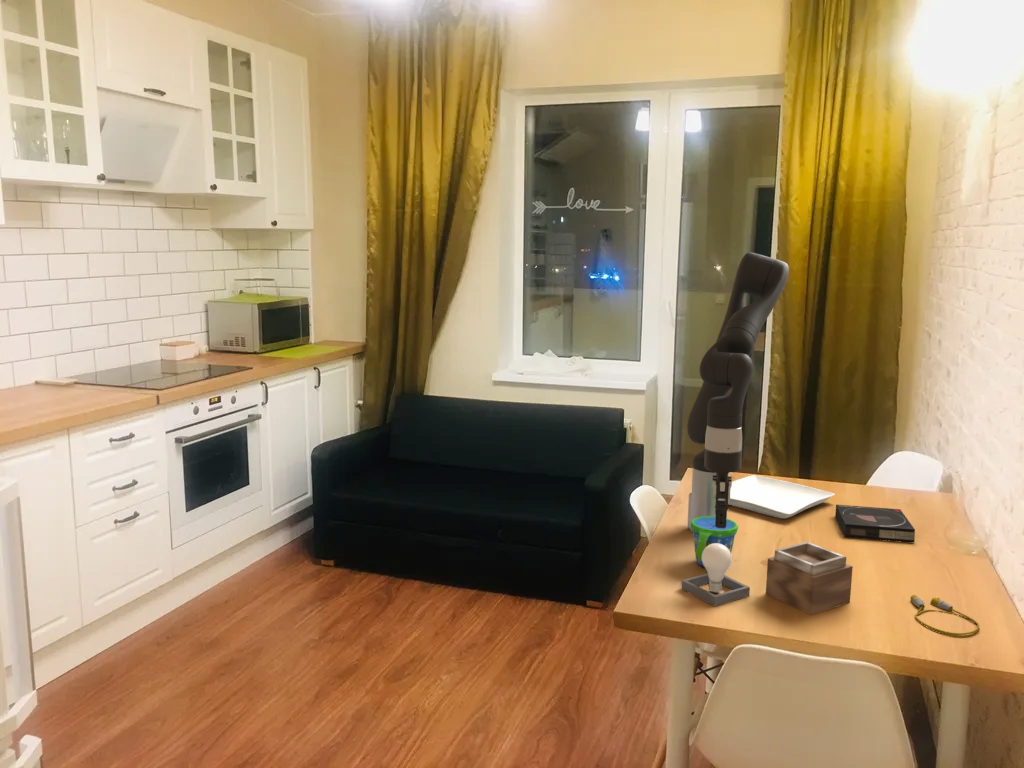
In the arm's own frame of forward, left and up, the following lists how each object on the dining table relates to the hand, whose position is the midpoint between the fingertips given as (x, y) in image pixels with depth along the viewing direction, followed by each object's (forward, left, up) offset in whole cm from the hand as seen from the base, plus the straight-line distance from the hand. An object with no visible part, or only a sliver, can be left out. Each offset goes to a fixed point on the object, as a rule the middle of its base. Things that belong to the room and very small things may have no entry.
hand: (720, 521), depth 172 cm
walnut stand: (+12, +15, -16) cm, 25 cm away
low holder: (0, 0, -16) cm, 16 cm away
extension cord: (+32, +31, -17) cm, 48 cm away
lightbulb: (0, 0, -16) cm, 16 cm away
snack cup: (-12, +11, -16) cm, 23 cm away
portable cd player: (-8, +65, -17) cm, 67 cm away
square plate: (-38, +59, -17) cm, 72 cm away
